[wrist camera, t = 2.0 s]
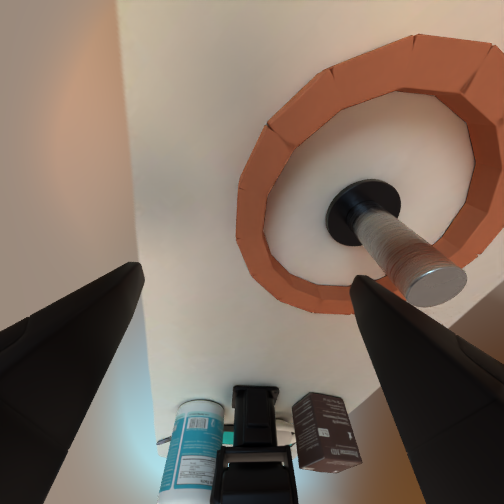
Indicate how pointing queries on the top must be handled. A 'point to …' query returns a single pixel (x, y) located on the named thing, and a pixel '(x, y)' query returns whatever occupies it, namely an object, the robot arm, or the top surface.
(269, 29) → the top surface
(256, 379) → the top surface
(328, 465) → the box
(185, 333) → the top surface
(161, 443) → the pen
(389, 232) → the post stand
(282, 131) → the ring
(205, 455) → the pill bottle
